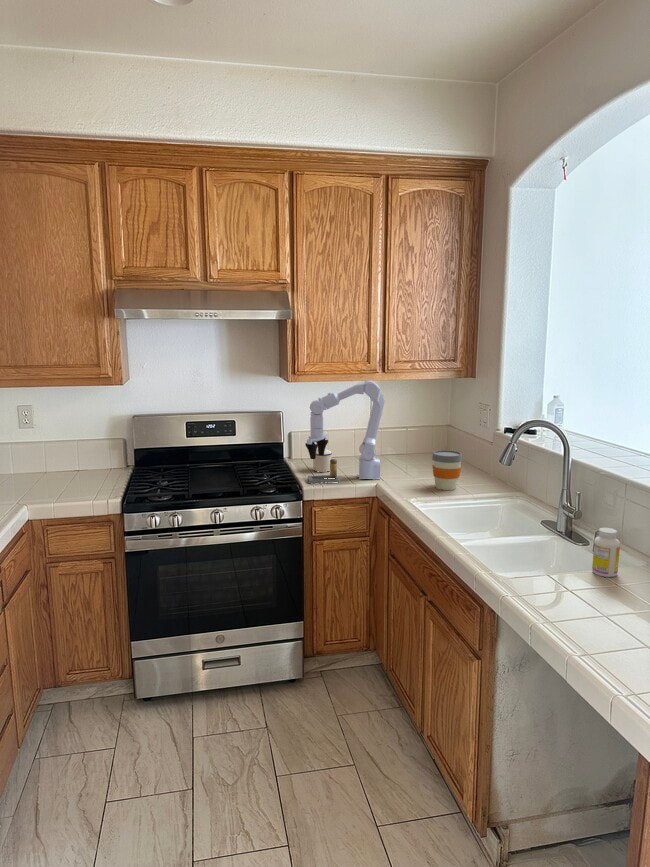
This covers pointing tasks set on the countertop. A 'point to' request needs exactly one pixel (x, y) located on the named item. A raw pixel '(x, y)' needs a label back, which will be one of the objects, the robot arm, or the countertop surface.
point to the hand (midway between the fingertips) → (317, 457)
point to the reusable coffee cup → (446, 468)
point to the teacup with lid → (322, 461)
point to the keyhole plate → (321, 479)
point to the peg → (333, 467)
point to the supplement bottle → (606, 553)
